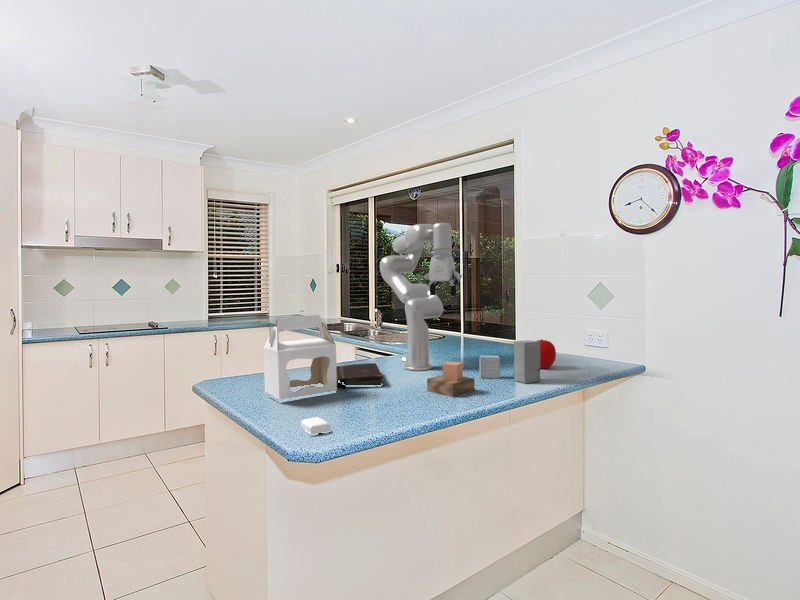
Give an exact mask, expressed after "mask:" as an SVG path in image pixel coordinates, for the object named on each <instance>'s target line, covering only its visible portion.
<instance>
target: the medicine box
mask: <svg viewBox="0 0 800 600" xmlns="http://www.w3.org/2000/svg"><path fill="white" fill-rule="evenodd" d="M500 368H501V357H500V356H499V355H479V379H500V378H501V369H500Z"/></svg>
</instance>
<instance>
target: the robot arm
mask: <svg viewBox="0 0 800 600" xmlns="http://www.w3.org/2000/svg"><path fill="white" fill-rule="evenodd" d="M452 235H453V234H452V225H451V223H450V222H436V223H434V224H431V223H430V224H429V223H417V224H414V225H411V226H409V227H408V228H407V229H406V231H405V233H404V234H402V235H398V236H397V237H396V238H395V239H394V240H393V241H392V249H393V251H394V252H395V253H397V254H399V255H387V256H384V257H382V258H381V260H380V262H379V271H380V274H381V275H380V276H381V277H382V278H383V281H384V282H385V283H386V284H387V285H388V286H389V287H390V288H391V289H392V291H393V293H395V295H396V296H397V298H398V299H399V300H400V302H402V304H404V312H405V318H406V328H407V333H406V334H407V356H406V357H405V356H403V357H402V359H401V362H402V363H405V364H404V366H403V367H404V369H405V370H409V371H428V370H432V369H433V365H432V364H431V363H430V356H429V355H430V342H429V341H430V339H429V338H430V337H429V335H430V334H429V333H430V331H429V326H428V324H427V322H426V321H425V320H426V319H436V318H439V317H441V315H442V314H443V312H444V305H443V303H442V300H441V299H440V297H439V296H438V294H436V285H435V284H436V283H437V282H448V283H450V286H449V288H450V289H449V291H450V292H449V293H450V297H455V296H456V295H457V286H458V284H459V283H460V282H461V279H462V274H461V273H459V272H458V271H456V265H455V261H454V256H453V253H452V252H453V251H452V243H453V242H452V238H453V237H452ZM424 243H432V250H431V252H430V254H431V255H432V256H431V259H430V262H429V263H430V264H429V271H428V273H426V274H424V275H423V276H424V279H425V282H426V283H412V282H410V281H409V280H408V278H407V277H406V276H405V275H404V274H410V273H412V272H414V271H415V269H416V268H417V265H418V263H419V261H420V257H421V256H422V253H423V249H424ZM400 254H401V255H400Z"/></svg>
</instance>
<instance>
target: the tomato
mask: <svg viewBox="0 0 800 600" xmlns="http://www.w3.org/2000/svg"><path fill="white" fill-rule="evenodd" d="M536 341H539V342H540V369H548V368H550V367H552V366H553V364H554V363H555V360H556V357H557V351H556V347H555V345H554V344H553V343H552V342H551V341H550V340H547V339H544V340H543V339H542V338H541V339H538V340H536Z"/></svg>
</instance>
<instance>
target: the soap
mask: <svg viewBox="0 0 800 600" xmlns="http://www.w3.org/2000/svg"><path fill="white" fill-rule="evenodd" d="M300 425H301V426H302V427H303V428H304V429H305V431H306V432H308V433H309V434H315V433H321V432H327V431H331V432H332V429H331V428H330V427H331V426H330V424H329V423H328V422H327V420H324V419H323V418H321V417H319V416H315V417H310V418H305V419H302V420H301V422H300Z"/></svg>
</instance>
